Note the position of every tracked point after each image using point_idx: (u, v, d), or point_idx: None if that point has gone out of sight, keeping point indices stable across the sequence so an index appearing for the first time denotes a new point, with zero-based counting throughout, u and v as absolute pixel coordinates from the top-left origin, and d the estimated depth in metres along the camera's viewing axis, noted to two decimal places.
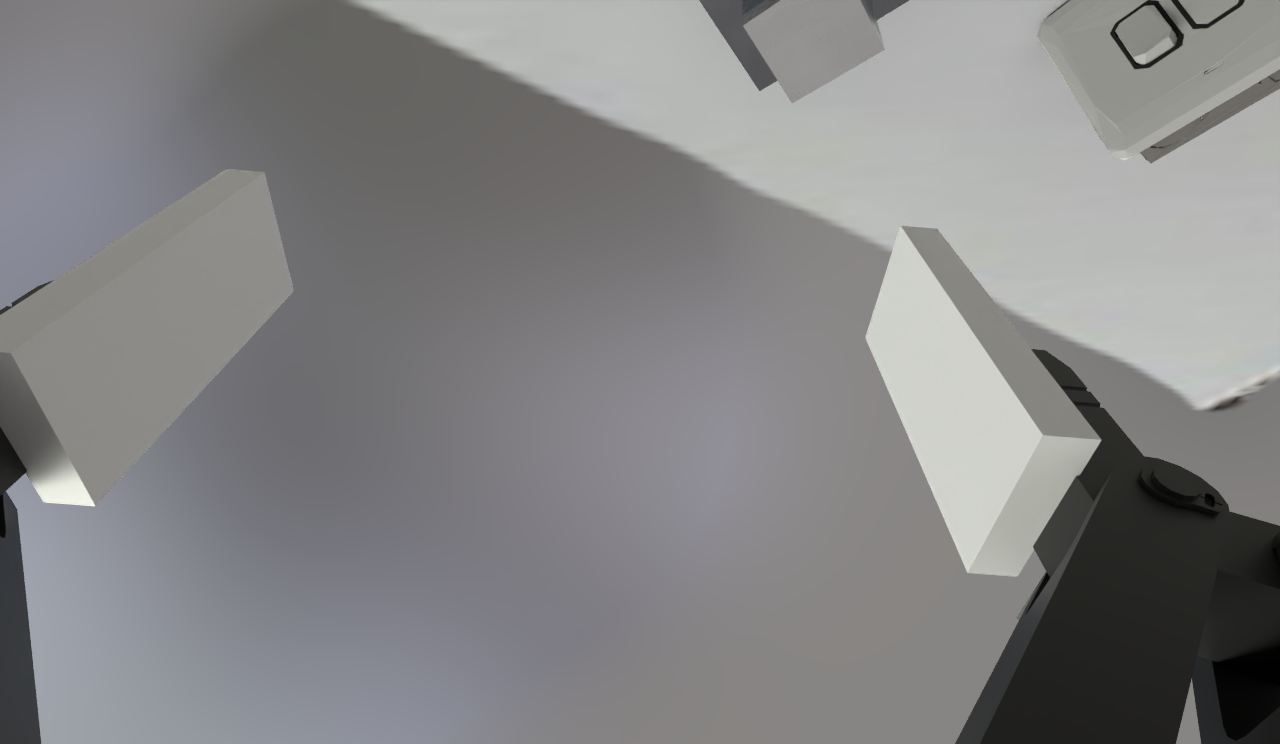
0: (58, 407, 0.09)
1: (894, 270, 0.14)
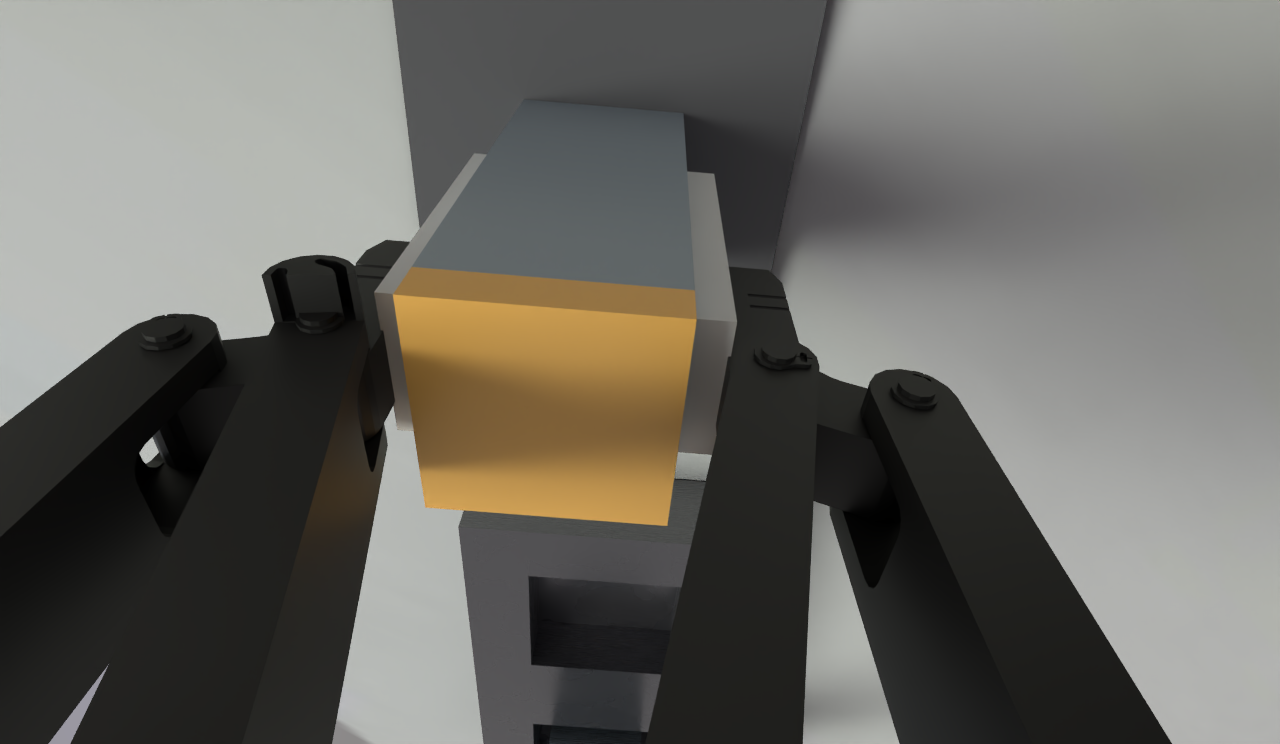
0: None
1: None
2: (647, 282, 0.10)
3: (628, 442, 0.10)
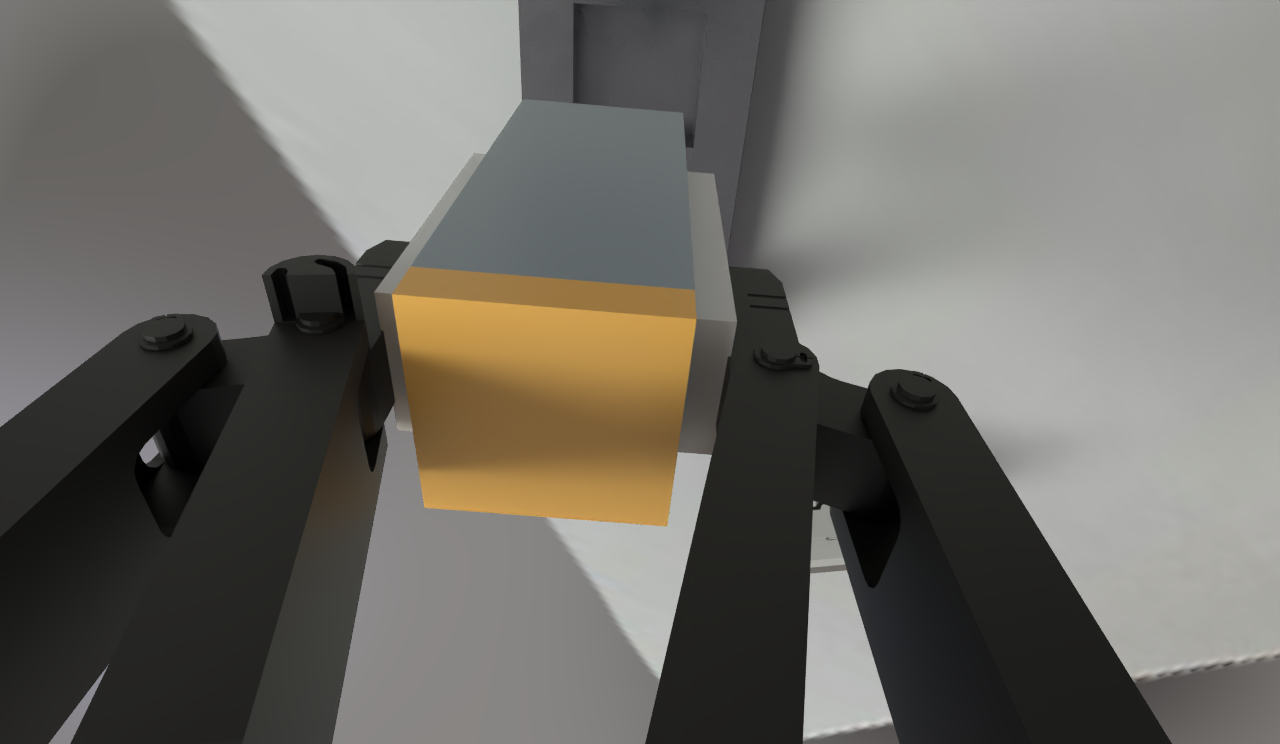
0: None
1: None
2: (647, 281, 0.10)
3: (628, 441, 0.10)
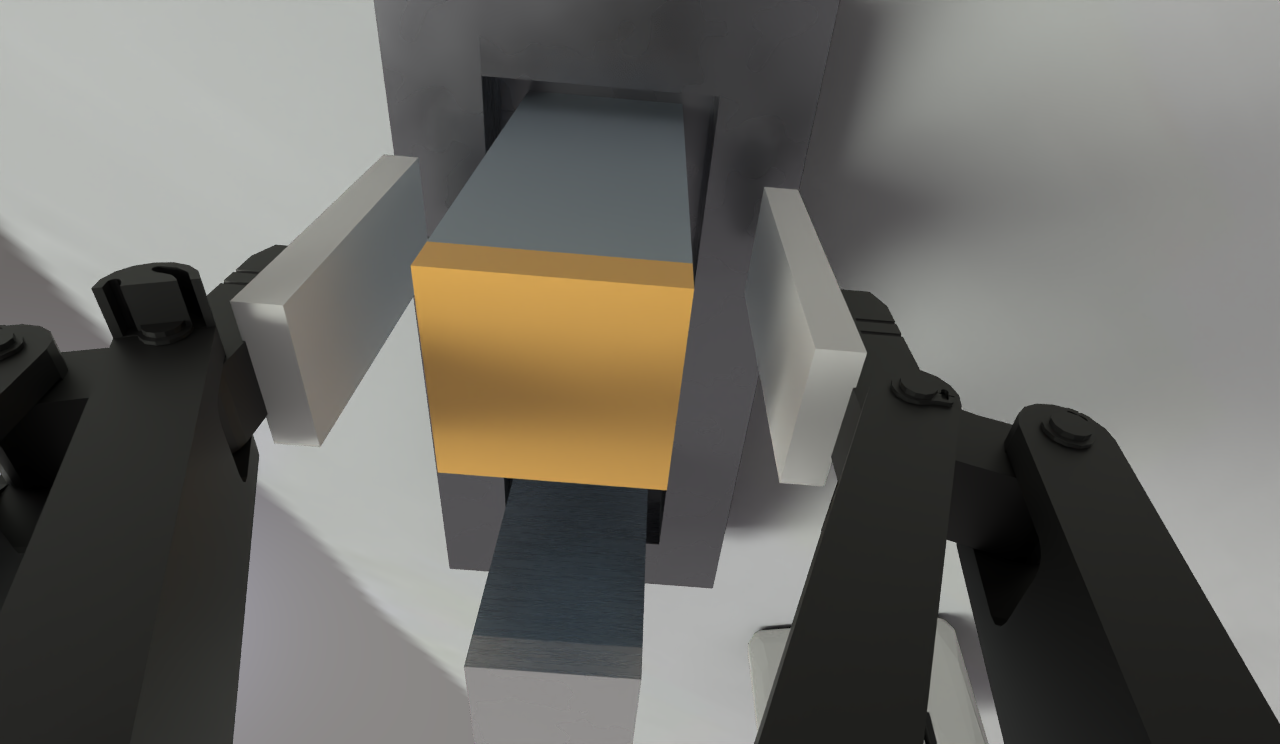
0: (304, 356, 0.11)
1: (760, 228, 0.15)
2: (648, 256, 0.10)
3: (630, 408, 0.11)
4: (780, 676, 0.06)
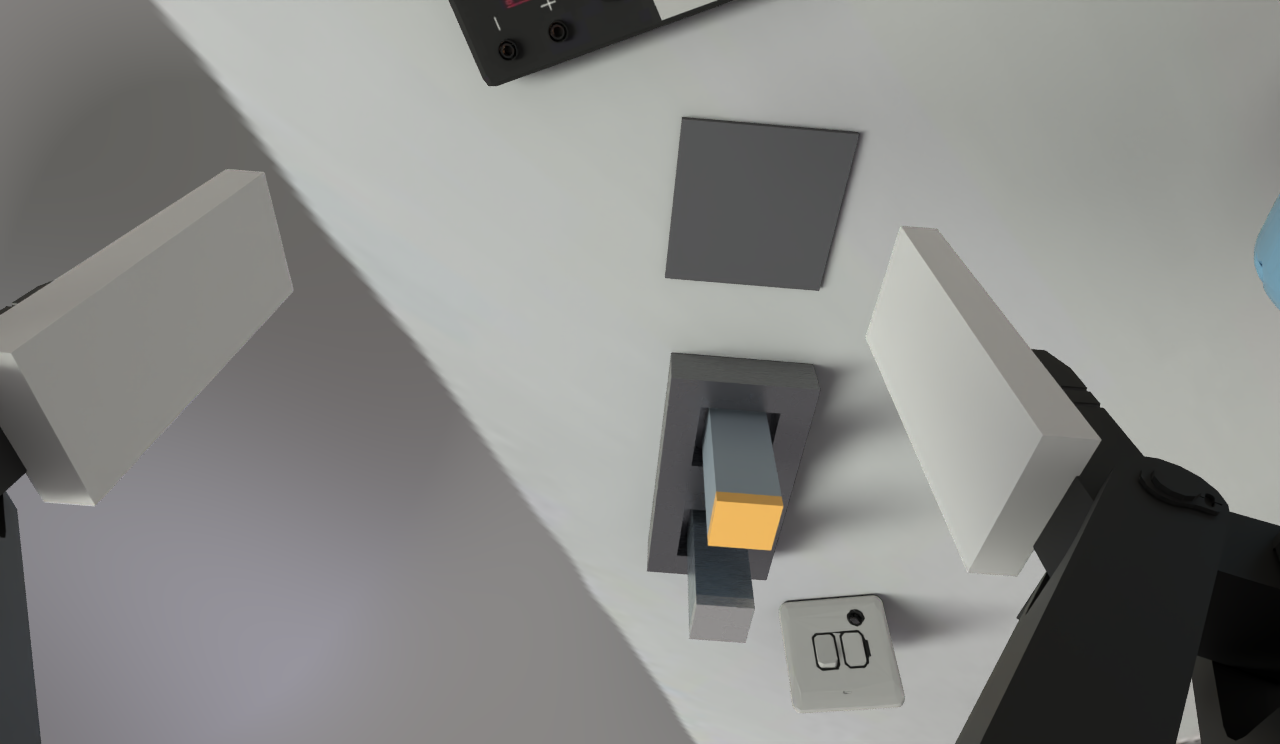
0: (58, 407, 0.09)
1: (894, 270, 0.14)
2: (770, 494, 0.42)
3: (764, 530, 0.42)
4: None
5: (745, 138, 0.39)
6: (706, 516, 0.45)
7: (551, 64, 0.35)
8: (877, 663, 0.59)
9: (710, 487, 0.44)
